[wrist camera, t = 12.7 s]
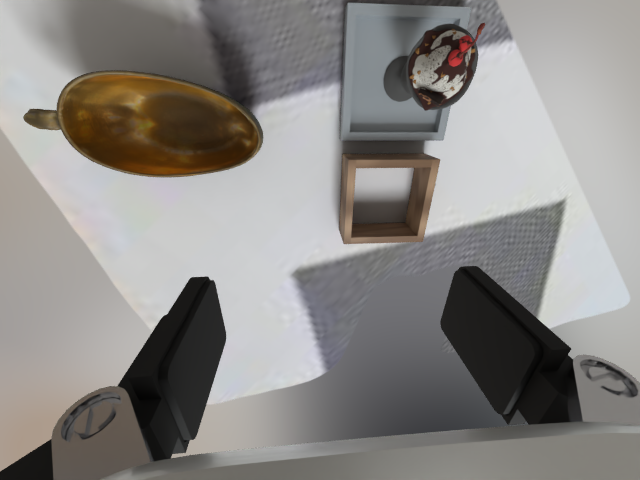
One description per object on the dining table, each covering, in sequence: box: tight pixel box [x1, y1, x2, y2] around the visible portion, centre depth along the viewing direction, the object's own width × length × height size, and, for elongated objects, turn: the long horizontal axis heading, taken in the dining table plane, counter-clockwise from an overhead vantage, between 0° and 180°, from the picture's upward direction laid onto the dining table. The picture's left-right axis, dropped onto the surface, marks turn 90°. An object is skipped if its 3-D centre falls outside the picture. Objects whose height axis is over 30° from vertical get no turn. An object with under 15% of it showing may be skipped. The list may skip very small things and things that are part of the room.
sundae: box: [384, 23, 485, 111], centre depth 26 cm, size 7×7×15 cm
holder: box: [339, 153, 440, 244], centre depth 38 cm, size 12×12×5 cm
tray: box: [340, 3, 471, 140], centre depth 33 cm, size 14×14×2 cm
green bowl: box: [23, 70, 263, 177], centre depth 29 cm, size 13×20×10 cm, turn 57°
